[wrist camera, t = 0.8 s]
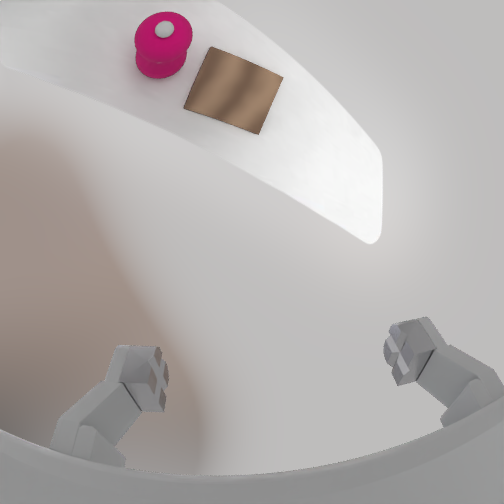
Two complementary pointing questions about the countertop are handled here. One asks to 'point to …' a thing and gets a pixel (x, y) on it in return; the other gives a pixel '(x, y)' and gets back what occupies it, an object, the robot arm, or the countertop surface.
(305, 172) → the countertop surface
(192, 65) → the countertop surface
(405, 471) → the robot arm
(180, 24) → the pepper mill
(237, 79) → the walnut board
